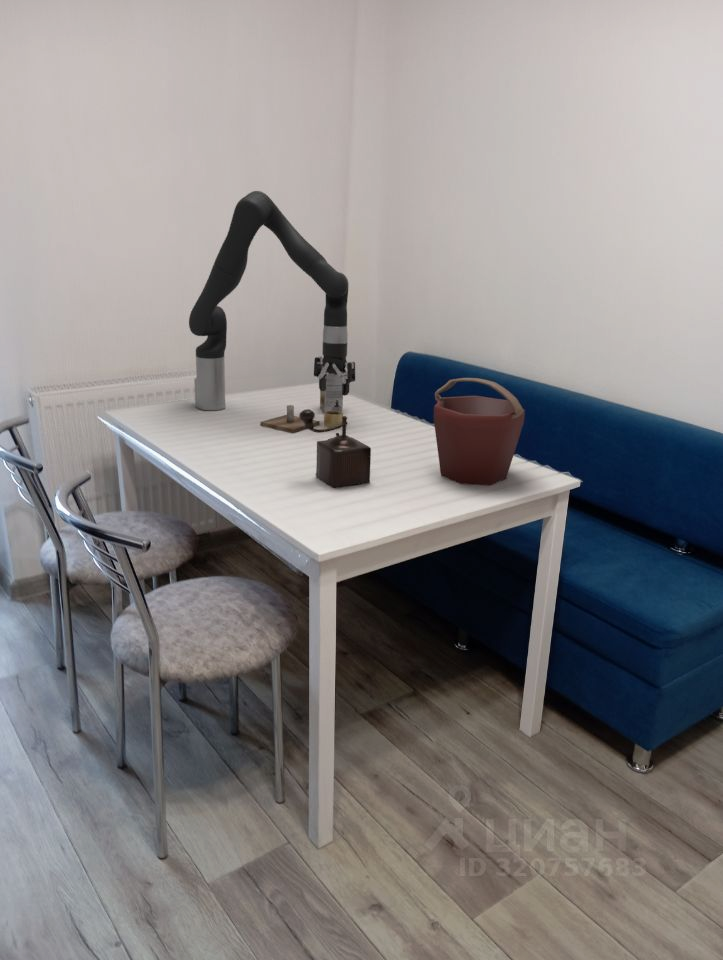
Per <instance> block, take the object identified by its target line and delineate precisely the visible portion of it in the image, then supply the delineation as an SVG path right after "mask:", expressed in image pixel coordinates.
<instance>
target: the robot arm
mask: <svg viewBox="0 0 723 960" xmlns="http://www.w3.org/2000/svg"><path fill="white" fill-rule="evenodd" d="M232 213H233V214H232V217H231V222H230V225H229V229H228V231H227V234H226V237H225V238H224V241H223V242H222V245H221V247H220V249H219V251H218V254H217V255H216V258H215V260H214V262H213V265H212V268H211V271H210V272H209V275H208V278H207V280H206V283H205V284H204V287H203V288H202V291H201V293H200V295H199V296H198V298H197V299H196V302H195V303H194V305H193V306H192V310H191V311H190V314H189V317H188V327H189V329H190V330H189V331H190V333H192V334H193V335H194V336H196V337H207V338H206V340H204V342H202V343H201V344H199V345H198V346H197V347H195V367H196V368H195V369H196V372H195V373H196V378H194V379H193V380H194V406H195V407H196V408H197V409H198V410H203V411H222V410H223V409H225V408H226V375H225V374H226V373H225V372H226V371H225V370H226V369H225V367H226V366H225V364H226V363H225V353H226V350H227V349H226V348H227V331H228V325H227V324H228V322H227V315H226V313H225V310H224V309H223V308H222V307H221V306H219V304H220V303H221V302H222V301H223V300H224V299H226V298H227V296H229V295H230V294H231V293H233V291H234V290H236V289H237V287H238V285H239V284H240V282H241V281H242V279H243V276H244V273H245V271H246V269H247V265H248V258H249V256H248V255H249V248H250V247H251V244H252V242H253V240H254V238H255V236H256V234H257V233H258V231H259V230H260V229H261V227H262V226H264V227H265V228H267V229H269V231H271V232H272V233H273V234H274V235H275V236H276V237H277V239H278V240H279V242H280V243H281V245H282V246H283V248H284V250H285V252H286V254H287V255H288V256H289V258H290V259H291V261H292V262H293V263H294V264H295V265H296V266H298V267H299V268H300V269H301V270H302V271H303V272H304V273H305V274H306V275H307V276H309V277H310V278H311V279H312V280H313V281H314V283H316V284H317V286H318V287H319V288H320V289H321V290H322V291H323V292H324V294H325V306H324V309H323V310H324V311H323V312H324V313H323V329H322V356H323V357H322V356H318V357H317V356H316V357H314V362H313V376H314V377H316V378H318V388H319V389H318V390H319V391H325V390H326V379H325V378H326V376H327V375H328V374H329V373H330V374H331V373H333V374H336V375H337V374H338V376H339V377H340V378H341V380H342V382H343V384H342V395H343V397H344V396H348V395H349V393H350V384H351V383H353V382H356V362H355V361H347V356H348V335H349V333H348V309H347V308H348V300H349V298H348V297H349V279H348V278H347V276H346V275H345V274H344V273H342V272H339V271H337V269H335V268H334V267H333V266H332V265H331V264H329V263H328V261H327V260H326V258H325V257H324V256H323V255H322V254H321V253H320V252H319V251H318V250H317V249H316V248H315V247H314V246H312V245H311V244H310V243H309V241H307V240H306V239H305V238H304V236H303V235H301V234H300V233H299V232H298V230H297V229H296V228H295V227H294V226H293V225H292V223H291V222H290V221H289V220H288V219H287V217H286V216H285V215H284V214H283V213H282V211H281V209H280V208H279V207H278V206H277V205H276V204H275V202H274V201H273V200H272V198H270V197H269V196H268V194H266V193H264V192H263V191H261V190H254V191H251V192H249V193H247V194H246V195H245V196H244V197H242V198H241V199H239V201H237V204H236V205H235V207H234V210H233V212H232ZM322 364H324V368H323V369H322ZM342 372H343V373H342ZM195 407H194V408H195Z"/></svg>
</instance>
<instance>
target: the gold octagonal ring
mask: <svg viewBox="0 0 723 960" xmlns="http://www.w3.org/2000/svg"><path fill="white" fill-rule="evenodd" d="M343 416H344V413H343V412H339V411H326V412H323V426H324V427H326V428H330V427H333V426H337V425H339V424H341V423H342V421H343V420H342V417H343Z"/></svg>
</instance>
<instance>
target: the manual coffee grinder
mask: <svg viewBox="0 0 723 960" xmlns="http://www.w3.org/2000/svg"><path fill="white" fill-rule="evenodd" d="M298 417H300V420H301V421H302V422H303V423H304V429H305V430H309V431H310V432H313V433H319V434H321V433H327V432H331V431H335V430H338V429H340V428H342V430H341V431H342V432H341V434H340V433H339V432H336V433H335V436H334V437H330V438H328V439H325V440H318V441H316V471H315V477H317V479H319V480H320V481H322V482H323V483H324V484H325V485H327V486H329V487H331V488H333V489H339V488H340V489H341V488H347V487H353V486H360V485H365V484H369V483H370V481H371V480H370V479H371V461H372V459H371V457H372V455H371V454H372V449H371V447H370V446H368V445H367V444H365V443H363V442H362V441H360V440H359V439H356V438H354V437H351V436H349V435H347V425H348V421H347V420H348V417H347V416H346V415H343V417H342V420H343V421H342V423H341V424H339V425H337V426H333V427H326V428H321V429H319V428H315V427H316V426H315V425H314V423H313V420H314V419H315V417H316V415H315V412H314V411H313V410H312V409H310V408H309V409H303V410H302V411H301V412H299V415H298Z"/></svg>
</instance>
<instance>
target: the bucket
mask: <svg viewBox="0 0 723 960" xmlns="http://www.w3.org/2000/svg"><path fill="white" fill-rule="evenodd" d="M459 382H461V383H463V382H472V383H478V384H482V385H485V386H488V387H490V388H492V389H493V390H495V391H496V392H497V393H498V394H500V395H501V396H502V397H504V398H505V399H501V398H495V397H494V398H493V397H486V396H480V395H463V396H449V397H447V396H446V397H441V395H440V394H441V393H444V392H446V391H448V390H450V389H451V388H452V387H453V386H454V385H456V384H457V383H459ZM434 399H435V400H436V402H437V403H436V404H435V405H434V406H433V423H434V424H433V425H434V431H435V432H434V433H435V440H436V446H437V455H438V462H439V471H440V477H443V478H445V479H447V480H449V481H453V482H455V483H457V484H460V485H469V486H470V485H473V486H474V485H475V486H492V485H495V484H497V482H498V483H500V482H502V481H504V480H506V479H507V478H508V474H509V471H510V469H511V468H510V467H511V465H512V461H513V459H514V455H515V452H516V449H517V445H518V442H519V439H520V435H521V433H522V429H523V426H524V424H525V423H524V422H525V415H526V409H524V408H523V406H522V405H521V403H520V402H519V400H518V398H517V397H516V396H515V395H514V394H513V393H512V392H510V391H509V390H507V389H506V388H505V387H504V386H502V385H500V384H499V383H497V382H495V381H492V380H488V379H483V378H477V377H461V378H453V379H449V380H448V381H447V382H446V383H445V384H444V385H443V386H441V387H440V388H438V389H437V390H436V391H435V392H434ZM499 481H500V482H499Z"/></svg>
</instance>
